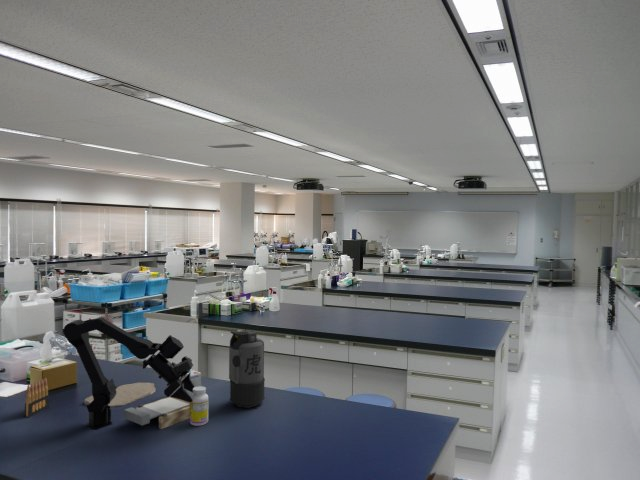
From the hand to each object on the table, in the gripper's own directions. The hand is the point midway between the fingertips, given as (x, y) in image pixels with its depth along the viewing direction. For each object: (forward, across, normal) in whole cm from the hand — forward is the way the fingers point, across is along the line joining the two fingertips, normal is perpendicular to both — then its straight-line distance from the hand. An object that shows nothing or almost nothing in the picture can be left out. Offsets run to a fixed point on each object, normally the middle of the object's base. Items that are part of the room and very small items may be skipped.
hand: (194, 396), depth 177 cm
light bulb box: (+1, +28, +12) cm, 30 cm away
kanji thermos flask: (+20, +19, -6) cm, 28 cm away
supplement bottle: (+8, 0, +6) cm, 10 cm away
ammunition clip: (-37, +13, +50) cm, 64 cm away
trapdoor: (-5, +3, +15) cm, 16 cm away
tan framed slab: (-1, +6, +15) cm, 16 cm away
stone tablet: (-17, +29, +31) cm, 46 cm away
